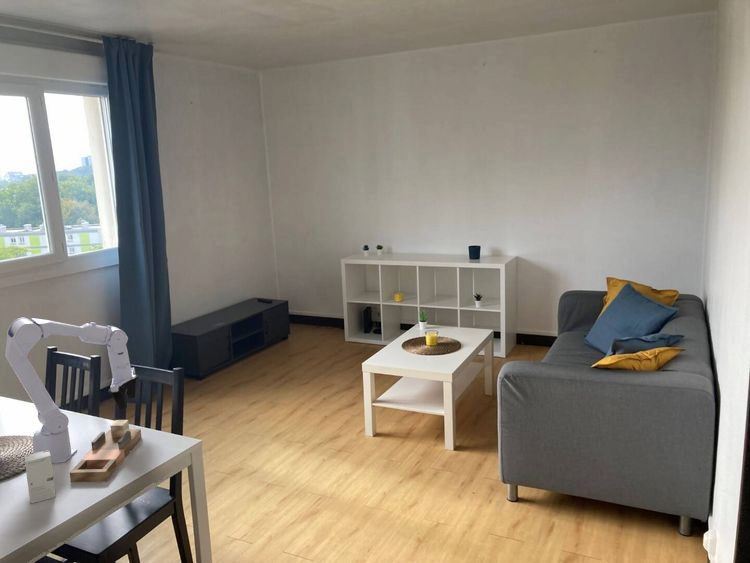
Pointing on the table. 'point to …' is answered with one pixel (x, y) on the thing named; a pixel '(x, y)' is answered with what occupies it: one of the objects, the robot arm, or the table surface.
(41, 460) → the skincare box
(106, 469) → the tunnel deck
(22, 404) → the table surface
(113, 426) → the maple block
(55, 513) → the table surface
